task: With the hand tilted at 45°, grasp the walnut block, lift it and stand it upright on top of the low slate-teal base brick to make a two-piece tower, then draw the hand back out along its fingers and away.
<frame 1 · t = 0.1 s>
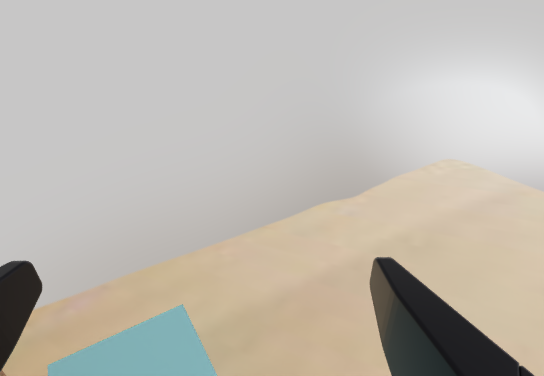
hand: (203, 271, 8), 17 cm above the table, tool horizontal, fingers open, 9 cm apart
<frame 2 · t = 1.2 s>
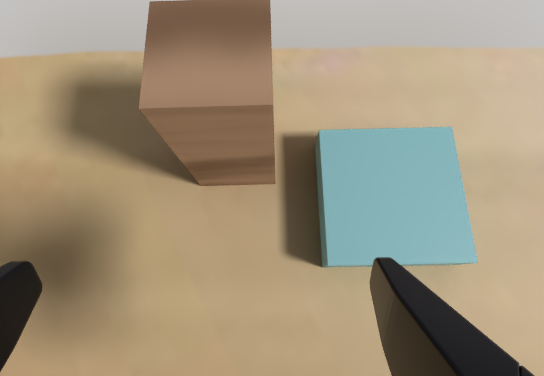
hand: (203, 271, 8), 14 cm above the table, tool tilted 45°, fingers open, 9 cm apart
walnut block: (238, 150, 24), on the table
base brick: (379, 203, 24), on the table
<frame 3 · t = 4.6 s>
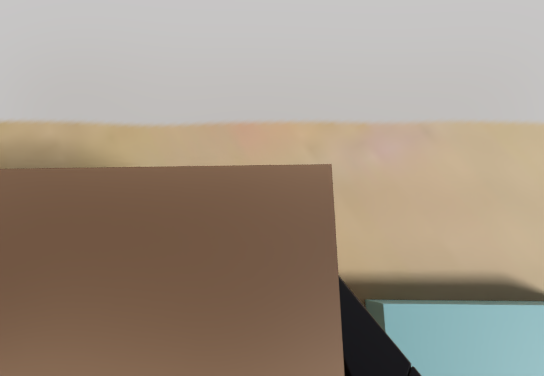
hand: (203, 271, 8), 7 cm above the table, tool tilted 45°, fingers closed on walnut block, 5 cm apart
walnut block: (234, 306, 14), on the table, touching gripper
when the fingers open (11 cm above the table, at t = 9.2 s): walnut block drops 2 cm, resting on base brick.
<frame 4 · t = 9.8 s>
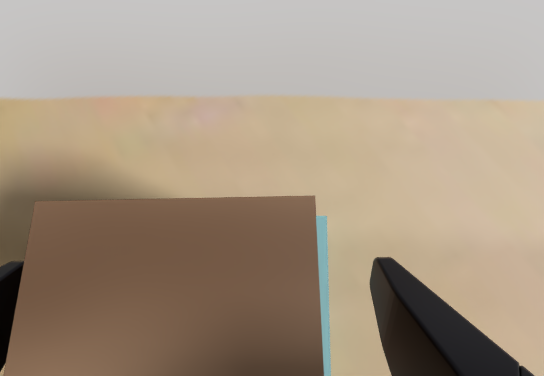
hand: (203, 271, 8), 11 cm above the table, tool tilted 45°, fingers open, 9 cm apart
walnut block: (240, 301, 16), point 2 cm above the table, touching base brick
base brick: (245, 298, 19), on the table, touching walnut block
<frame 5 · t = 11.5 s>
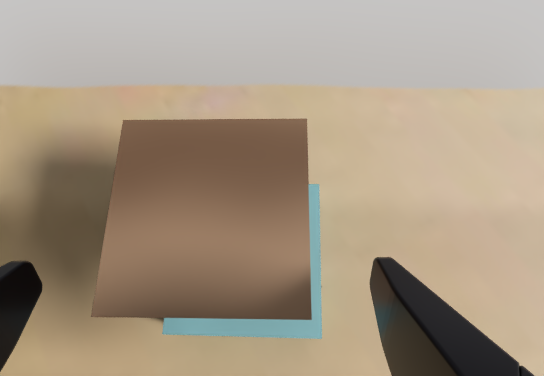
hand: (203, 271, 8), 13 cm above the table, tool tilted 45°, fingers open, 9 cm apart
walnut block: (249, 251, 19), point 3 cm above the table, touching base brick
base brick: (249, 258, 22), on the table, touching walnut block
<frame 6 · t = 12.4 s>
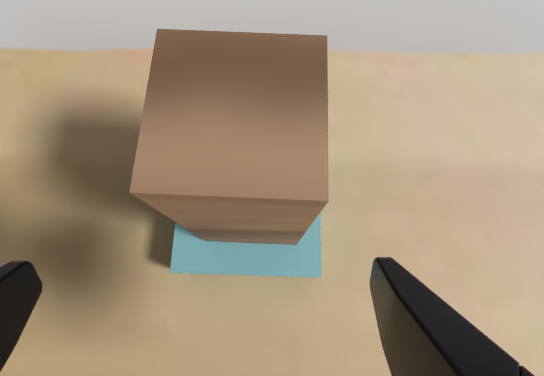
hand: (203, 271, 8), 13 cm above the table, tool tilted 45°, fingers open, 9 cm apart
walnut block: (253, 198, 20), point 3 cm above the table, touching base brick
base brick: (252, 210, 23), on the table, touching walnut block
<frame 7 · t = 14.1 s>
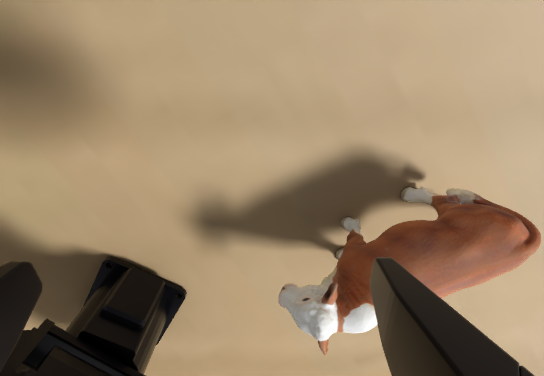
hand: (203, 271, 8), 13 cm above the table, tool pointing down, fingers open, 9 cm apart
bull figurine: (372, 222, 23), on the table
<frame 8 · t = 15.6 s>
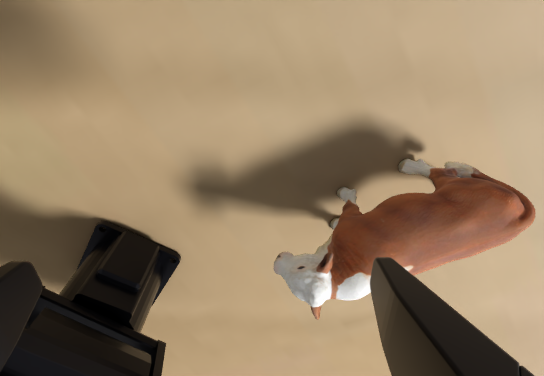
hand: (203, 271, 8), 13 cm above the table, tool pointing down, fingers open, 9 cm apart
bull figurine: (368, 193, 23), on the table
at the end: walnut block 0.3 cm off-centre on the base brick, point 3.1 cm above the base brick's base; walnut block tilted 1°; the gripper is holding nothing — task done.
